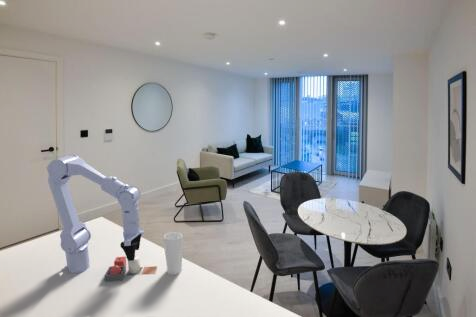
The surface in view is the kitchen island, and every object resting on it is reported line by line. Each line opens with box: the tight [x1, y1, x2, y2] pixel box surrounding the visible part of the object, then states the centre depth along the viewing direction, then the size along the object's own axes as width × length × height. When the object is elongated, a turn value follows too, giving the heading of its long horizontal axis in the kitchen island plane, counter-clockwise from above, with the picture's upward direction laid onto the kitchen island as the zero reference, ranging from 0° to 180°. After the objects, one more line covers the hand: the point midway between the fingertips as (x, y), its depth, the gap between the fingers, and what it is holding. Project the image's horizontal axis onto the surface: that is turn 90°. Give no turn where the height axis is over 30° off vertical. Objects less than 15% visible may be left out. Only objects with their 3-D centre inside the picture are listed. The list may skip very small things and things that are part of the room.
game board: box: [125, 265, 158, 276], centre depth 112 cm, size 17×12×1 cm
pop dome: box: [110, 265, 121, 274], centre depth 108 cm, size 4×4×3 cm
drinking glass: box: [163, 231, 184, 276], centre depth 112 cm, size 7×7×15 cm
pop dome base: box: [104, 265, 127, 282], centre depth 109 cm, size 6×6×2 cm
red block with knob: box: [113, 256, 127, 267], centre depth 115 cm, size 3×3×4 cm
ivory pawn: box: [127, 255, 141, 274], centre depth 112 cm, size 4×4×5 cm
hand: (133, 254), depth 111 cm, fingers open, 7 cm apart
